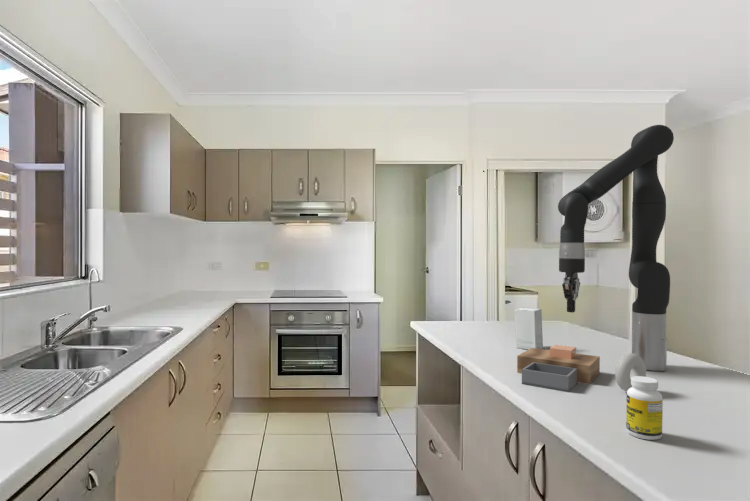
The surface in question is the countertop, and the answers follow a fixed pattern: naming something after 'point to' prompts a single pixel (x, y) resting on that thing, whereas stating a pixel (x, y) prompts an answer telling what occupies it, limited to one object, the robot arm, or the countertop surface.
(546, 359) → the chopping block
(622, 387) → the donut
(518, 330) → the skincare box
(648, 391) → the pill bottle
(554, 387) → the bin
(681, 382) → the countertop surface
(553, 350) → the tile
